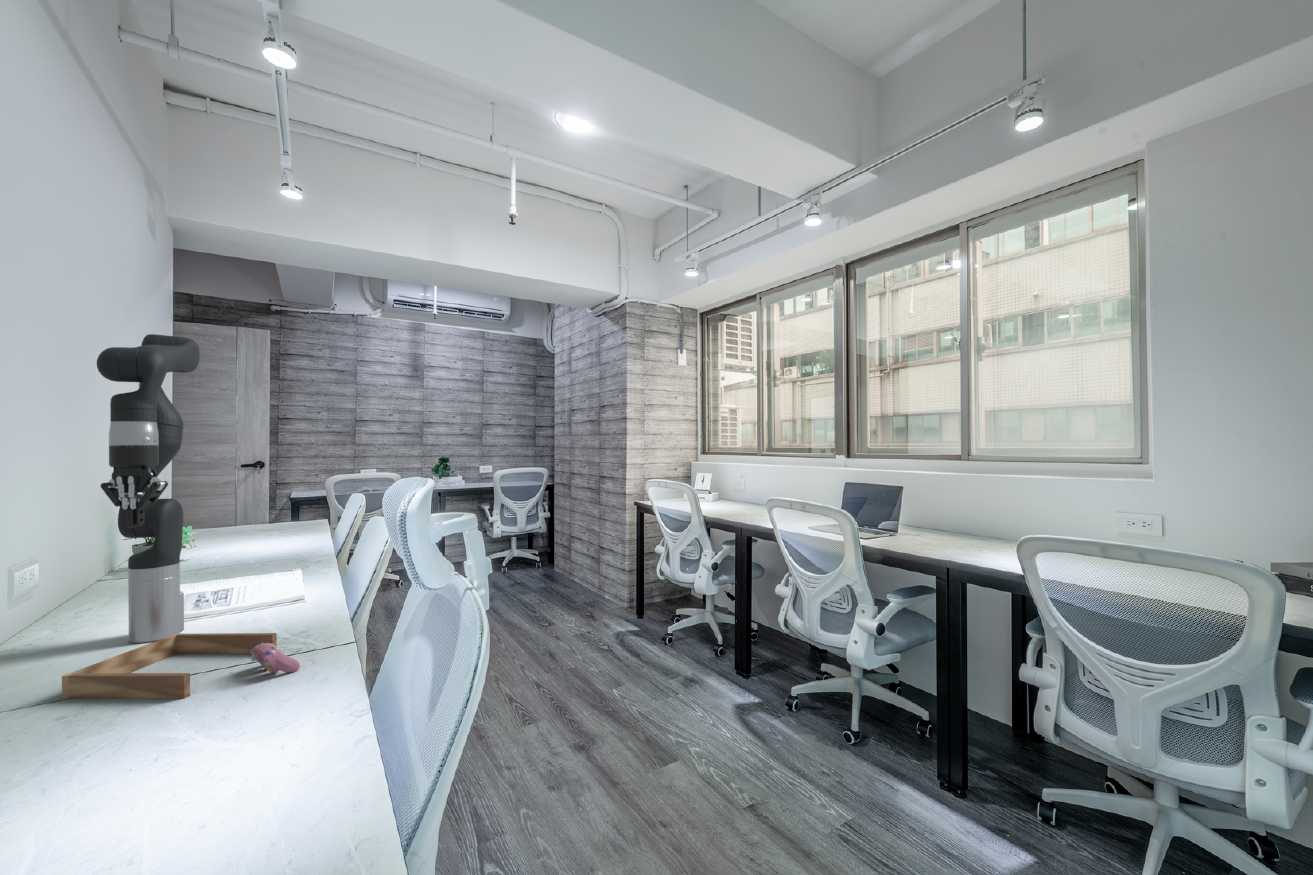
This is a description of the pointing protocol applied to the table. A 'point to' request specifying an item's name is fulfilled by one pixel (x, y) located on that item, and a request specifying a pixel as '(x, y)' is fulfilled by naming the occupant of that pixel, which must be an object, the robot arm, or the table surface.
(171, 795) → the table surface
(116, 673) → the wooden u-shaped frame
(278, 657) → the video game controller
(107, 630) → the table surface
